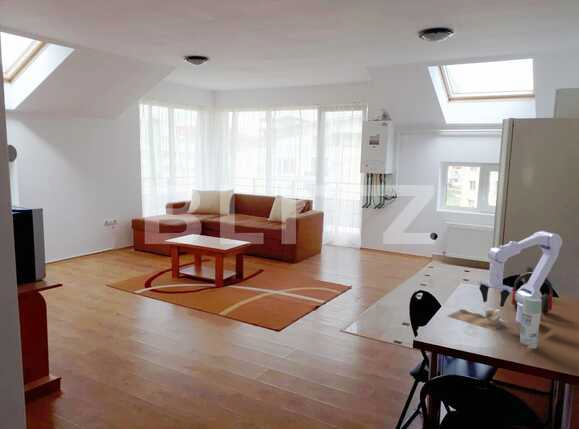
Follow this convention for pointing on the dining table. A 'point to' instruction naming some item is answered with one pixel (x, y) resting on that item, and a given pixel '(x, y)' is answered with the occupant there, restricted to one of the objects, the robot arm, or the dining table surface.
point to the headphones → (545, 299)
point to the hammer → (526, 279)
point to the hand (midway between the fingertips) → (493, 304)
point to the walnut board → (474, 318)
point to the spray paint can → (530, 321)
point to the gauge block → (492, 316)
